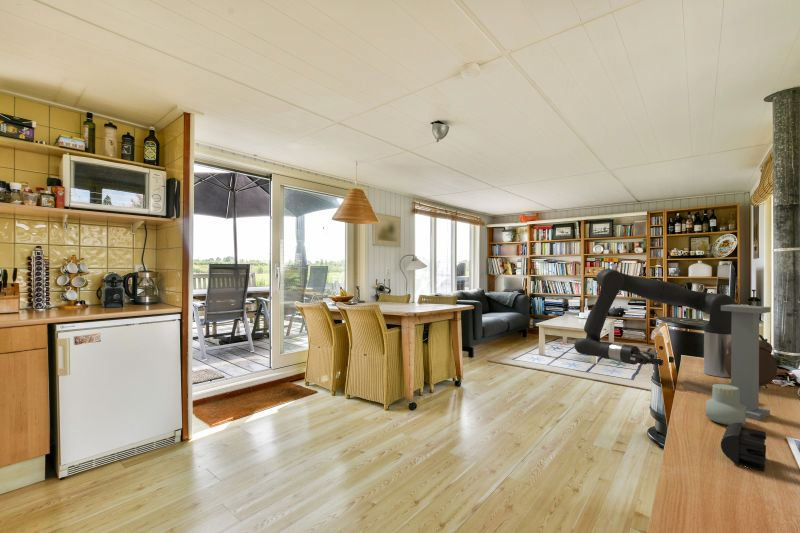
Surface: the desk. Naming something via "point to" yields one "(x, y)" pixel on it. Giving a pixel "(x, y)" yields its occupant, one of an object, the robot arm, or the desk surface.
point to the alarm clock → (765, 362)
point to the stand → (746, 356)
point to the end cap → (745, 446)
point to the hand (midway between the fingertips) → (668, 361)
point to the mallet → (698, 387)
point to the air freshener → (725, 405)
